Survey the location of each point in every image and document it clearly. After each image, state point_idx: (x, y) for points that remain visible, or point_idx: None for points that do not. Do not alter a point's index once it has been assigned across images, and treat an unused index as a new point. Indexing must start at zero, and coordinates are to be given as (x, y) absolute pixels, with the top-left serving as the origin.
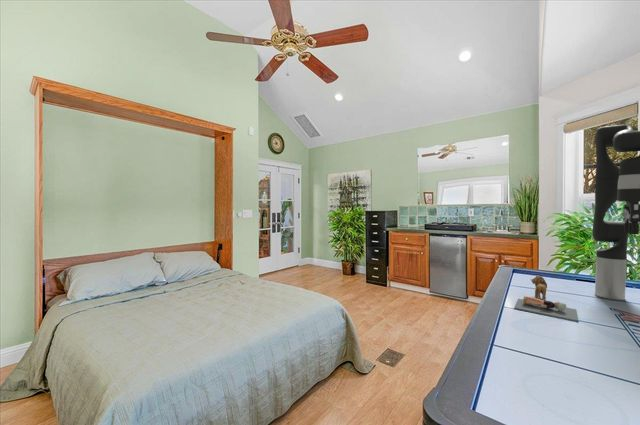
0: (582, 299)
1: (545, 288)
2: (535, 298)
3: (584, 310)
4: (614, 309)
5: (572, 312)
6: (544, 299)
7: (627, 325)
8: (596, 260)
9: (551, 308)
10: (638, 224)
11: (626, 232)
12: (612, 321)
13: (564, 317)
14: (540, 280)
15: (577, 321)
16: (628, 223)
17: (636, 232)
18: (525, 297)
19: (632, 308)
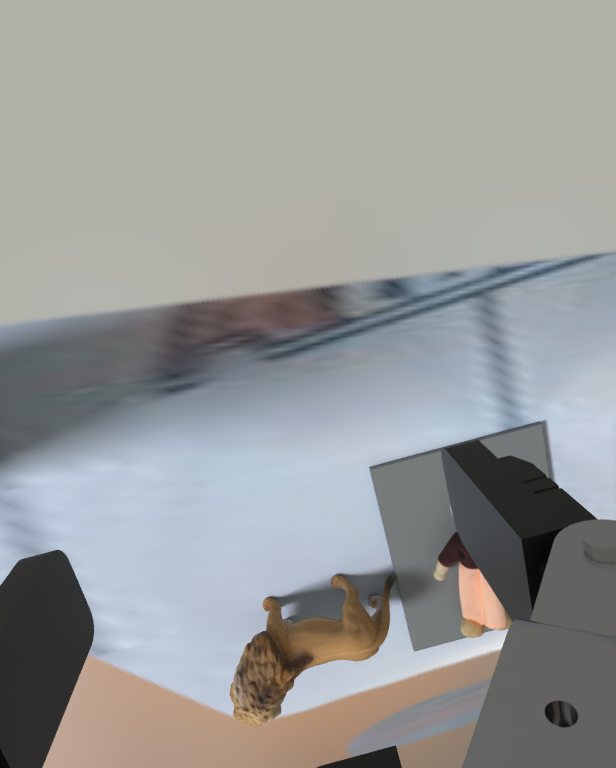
0: (116, 502)
1: (314, 629)
2: (495, 597)
3: (330, 448)
4: (176, 374)
5: (438, 466)
6: (353, 587)
7: (416, 296)
8: None
9: (452, 530)
10: (564, 524)
11: (87, 613)
12: (408, 344)
13: (543, 465)
14: (289, 683)
15: (539, 425)
16: (14, 741)
17: (515, 465)
18: (481, 628)
19: (63, 324)
